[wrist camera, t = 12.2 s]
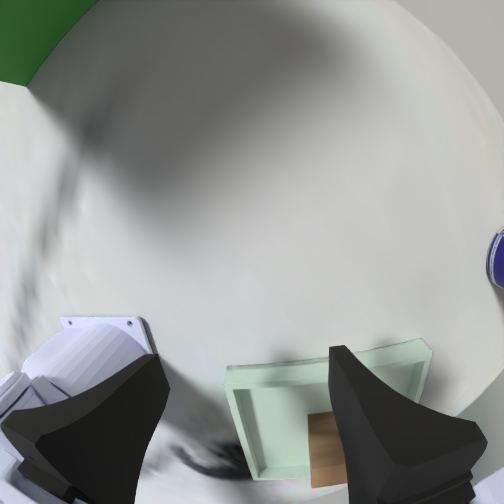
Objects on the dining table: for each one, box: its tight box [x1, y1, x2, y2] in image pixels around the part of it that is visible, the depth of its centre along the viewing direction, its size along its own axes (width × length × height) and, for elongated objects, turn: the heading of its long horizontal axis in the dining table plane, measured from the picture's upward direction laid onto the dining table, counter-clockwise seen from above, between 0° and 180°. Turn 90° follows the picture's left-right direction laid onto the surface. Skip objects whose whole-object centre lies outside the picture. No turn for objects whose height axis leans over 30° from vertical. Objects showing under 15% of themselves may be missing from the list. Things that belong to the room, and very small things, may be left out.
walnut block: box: [307, 411, 348, 488], centre depth 18 cm, size 4×4×6 cm
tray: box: [223, 338, 433, 480], centre depth 20 cm, size 16×16×2 cm
